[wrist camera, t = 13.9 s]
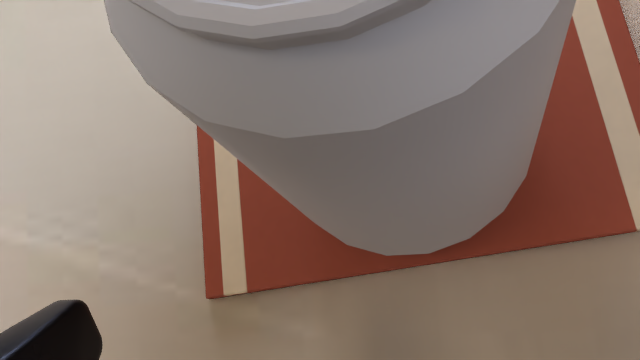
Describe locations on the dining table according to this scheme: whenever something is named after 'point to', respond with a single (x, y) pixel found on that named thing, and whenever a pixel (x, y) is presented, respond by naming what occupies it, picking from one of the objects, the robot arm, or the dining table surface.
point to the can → (362, 102)
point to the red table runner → (497, 236)
